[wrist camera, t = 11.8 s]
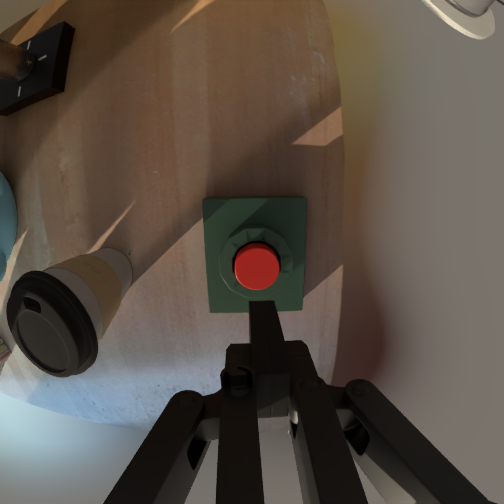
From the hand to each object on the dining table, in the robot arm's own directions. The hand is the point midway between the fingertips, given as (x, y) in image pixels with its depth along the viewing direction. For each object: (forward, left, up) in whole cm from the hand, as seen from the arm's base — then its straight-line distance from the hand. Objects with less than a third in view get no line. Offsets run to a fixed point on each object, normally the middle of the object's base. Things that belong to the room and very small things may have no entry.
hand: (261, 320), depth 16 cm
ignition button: (0, 0, -11) cm, 11 cm away
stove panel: (+29, -26, -14) cm, 41 cm away
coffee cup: (+17, +2, -14) cm, 22 cm away
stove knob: (+29, -26, -11) cm, 41 cm away
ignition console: (0, 0, -14) cm, 14 cm away
